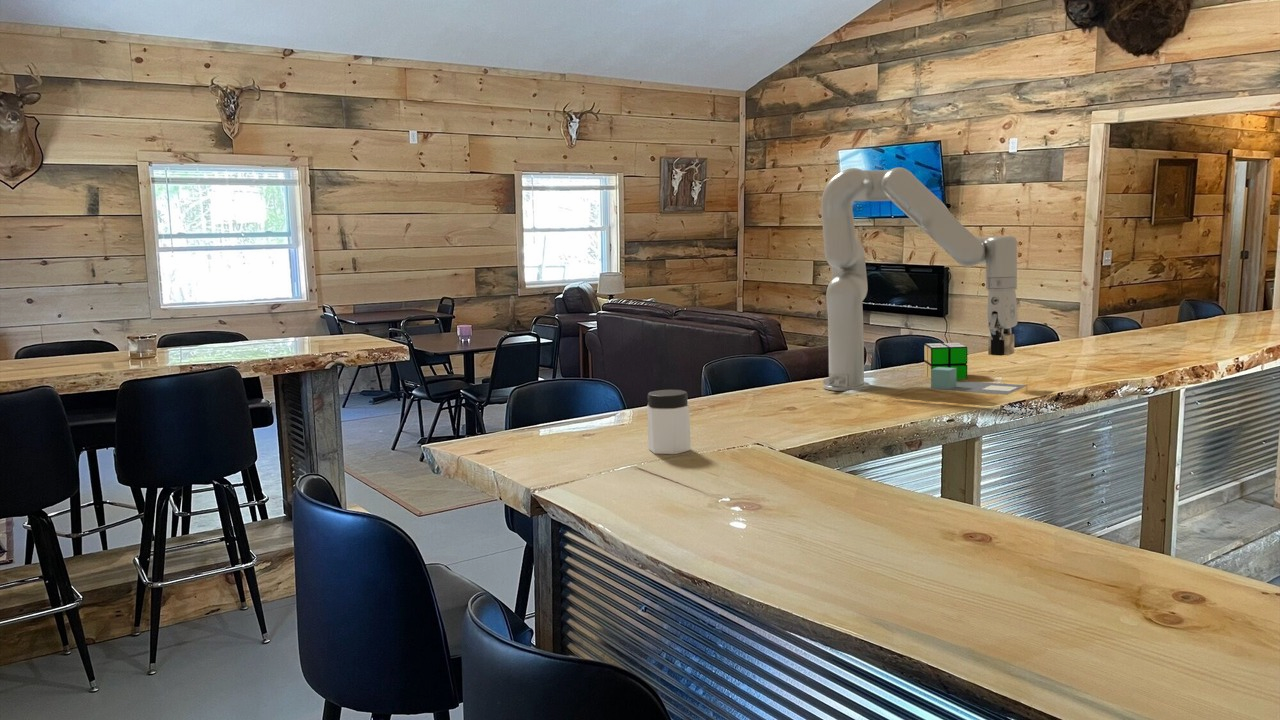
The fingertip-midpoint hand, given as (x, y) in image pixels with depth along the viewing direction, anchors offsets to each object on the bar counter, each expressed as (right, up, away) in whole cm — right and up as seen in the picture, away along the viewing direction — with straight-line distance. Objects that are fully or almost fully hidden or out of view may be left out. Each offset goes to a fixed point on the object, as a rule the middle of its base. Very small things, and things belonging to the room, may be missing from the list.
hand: (1001, 353), depth 241 cm
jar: (-88, -21, -51) cm, 104 cm away
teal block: (-13, -9, +7) cm, 17 cm away
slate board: (-4, -10, +5) cm, 12 cm away
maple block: (0, 0, 0) cm, 0 cm away
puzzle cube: (-6, -8, +25) cm, 27 cm away
